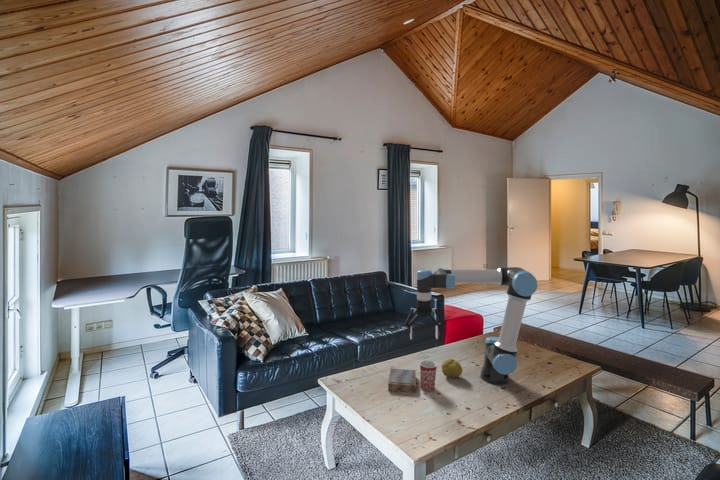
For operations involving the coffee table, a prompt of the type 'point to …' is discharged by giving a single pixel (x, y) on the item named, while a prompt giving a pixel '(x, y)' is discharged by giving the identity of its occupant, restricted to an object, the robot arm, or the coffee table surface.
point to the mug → (428, 375)
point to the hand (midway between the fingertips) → (423, 338)
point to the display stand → (402, 380)
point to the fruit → (451, 368)
